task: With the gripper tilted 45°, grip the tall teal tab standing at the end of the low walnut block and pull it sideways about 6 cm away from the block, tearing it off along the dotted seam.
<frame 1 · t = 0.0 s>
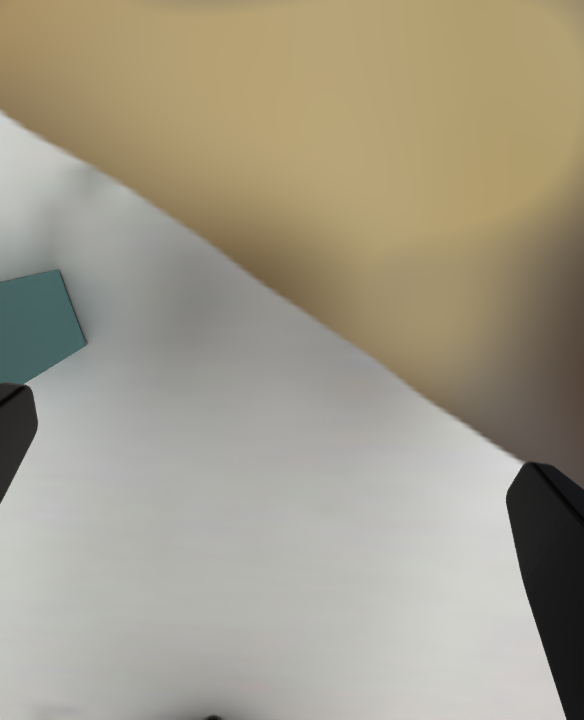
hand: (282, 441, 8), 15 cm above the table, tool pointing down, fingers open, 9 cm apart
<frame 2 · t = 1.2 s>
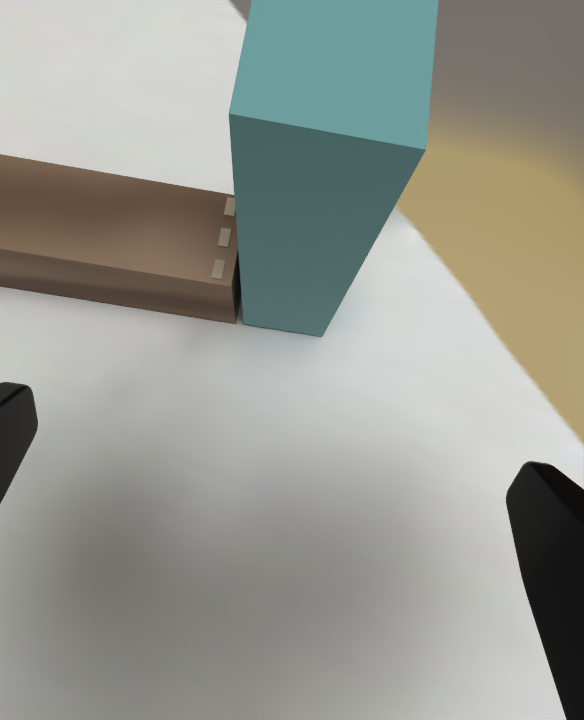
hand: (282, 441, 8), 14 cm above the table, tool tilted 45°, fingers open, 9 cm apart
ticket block: (288, 294, 23), on the table
tear tab: (303, 223, 16), point 7 cm above the table, slide at 0.0 cm
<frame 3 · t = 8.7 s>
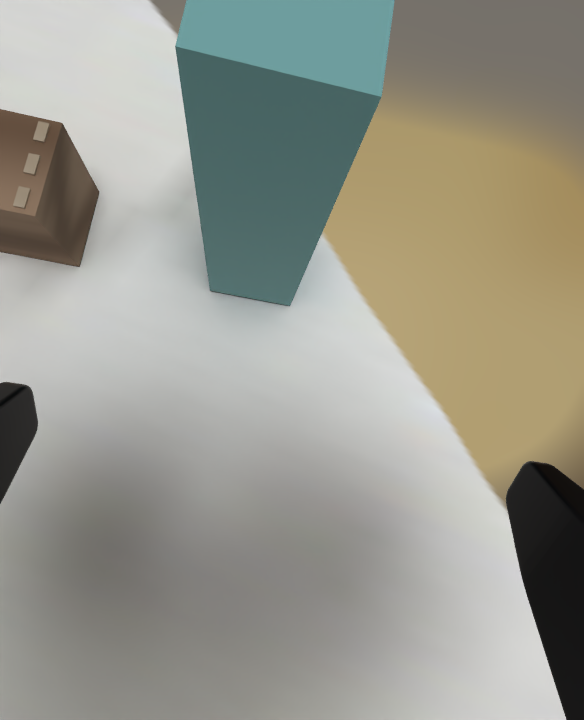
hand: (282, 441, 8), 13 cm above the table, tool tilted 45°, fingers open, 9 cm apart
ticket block: (139, 238, 22), on the table
tear tab: (268, 183, 16), point 7 cm above the table, slide at 5.9 cm
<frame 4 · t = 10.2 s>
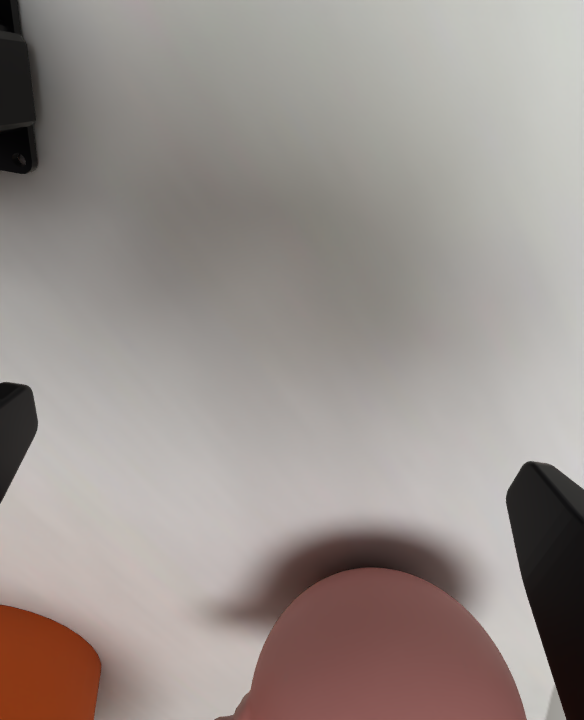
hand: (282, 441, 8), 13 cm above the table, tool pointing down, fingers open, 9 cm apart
flowerpot: (11, 651, 40), on the table
balloon: (335, 586, 33), on the table
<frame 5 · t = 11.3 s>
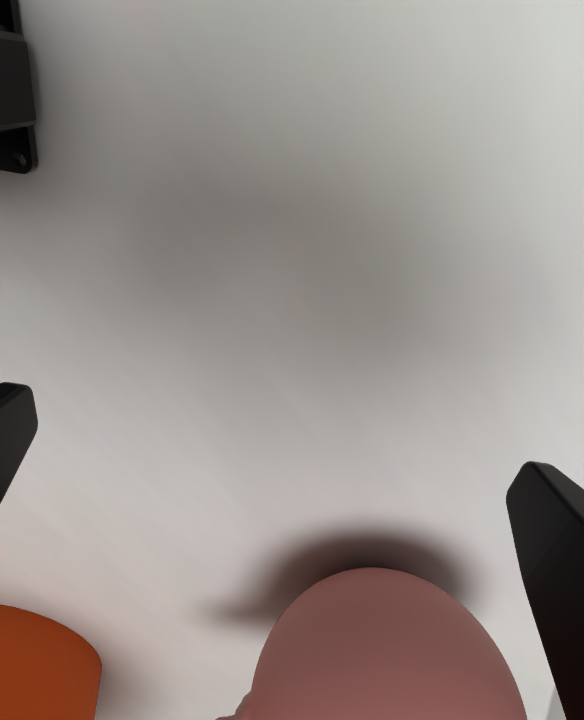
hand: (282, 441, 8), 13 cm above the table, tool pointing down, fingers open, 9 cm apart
flowerpot: (11, 651, 40), on the table
balloon: (336, 586, 33), on the table
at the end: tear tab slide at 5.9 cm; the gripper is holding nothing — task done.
